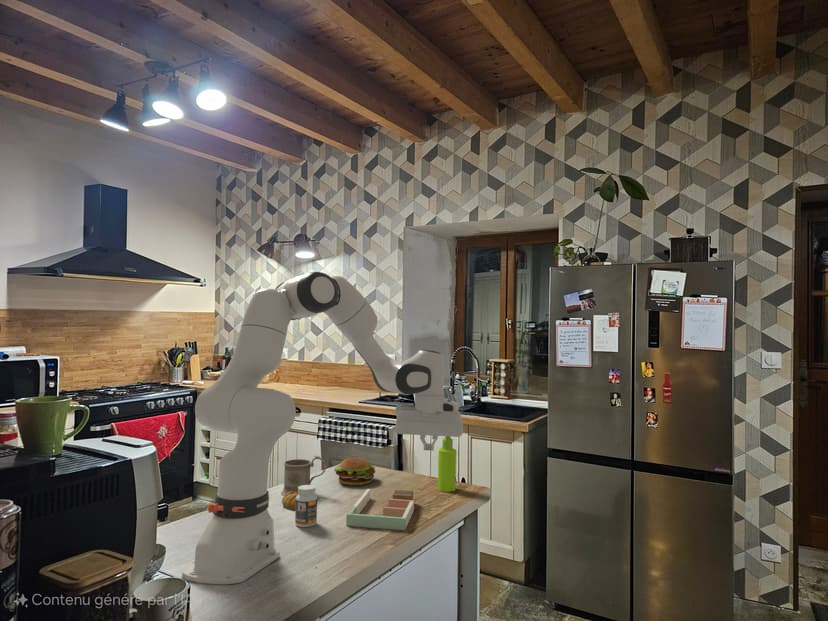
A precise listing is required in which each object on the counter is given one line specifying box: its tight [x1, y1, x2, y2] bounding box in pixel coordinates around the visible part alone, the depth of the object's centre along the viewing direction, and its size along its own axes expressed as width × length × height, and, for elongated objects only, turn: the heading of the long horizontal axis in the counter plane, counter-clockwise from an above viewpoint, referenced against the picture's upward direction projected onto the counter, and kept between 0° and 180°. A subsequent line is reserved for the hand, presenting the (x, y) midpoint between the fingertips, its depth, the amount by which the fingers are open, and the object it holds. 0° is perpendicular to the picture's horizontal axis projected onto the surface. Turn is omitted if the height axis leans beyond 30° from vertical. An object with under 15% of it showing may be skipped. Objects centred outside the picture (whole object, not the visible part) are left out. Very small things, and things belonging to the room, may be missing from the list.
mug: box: [280, 455, 327, 497], centre depth 179 cm, size 14×10×12 cm
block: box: [392, 489, 414, 500], centre depth 169 cm, size 6×6×4 cm
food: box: [334, 456, 376, 486], centre depth 194 cm, size 14×14×8 cm
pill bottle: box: [294, 484, 318, 528], centre depth 151 cm, size 6×6×10 cm
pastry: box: [281, 491, 299, 511], centre depth 165 cm, size 9×7×4 cm
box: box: [345, 488, 415, 531], centre depth 161 cm, size 24×16×3 cm, turn 171°
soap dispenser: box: [437, 436, 457, 493], centre depth 186 cm, size 6×7×20 cm
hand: (428, 450), depth 168 cm, fingers closed
